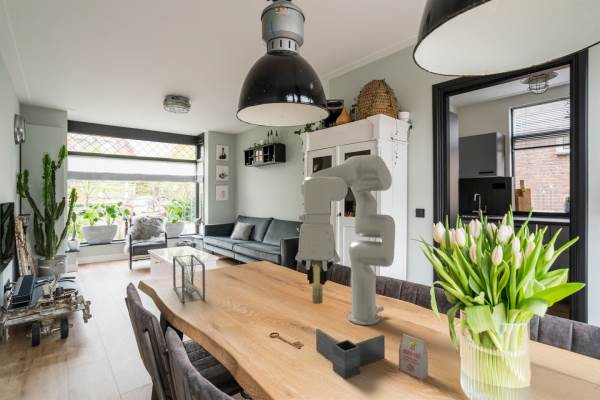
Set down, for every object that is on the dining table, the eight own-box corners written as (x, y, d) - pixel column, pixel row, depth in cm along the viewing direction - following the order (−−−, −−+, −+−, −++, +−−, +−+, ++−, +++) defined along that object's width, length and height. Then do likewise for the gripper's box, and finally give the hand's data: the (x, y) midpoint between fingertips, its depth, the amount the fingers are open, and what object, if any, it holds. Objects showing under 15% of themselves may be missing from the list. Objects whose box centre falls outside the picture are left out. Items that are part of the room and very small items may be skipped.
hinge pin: (319, 298, 94) (319, 252, 94) (327, 302, 90) (326, 254, 90) (308, 301, 92) (307, 253, 92) (315, 305, 88) (314, 255, 88)
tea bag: (405, 365, 93) (405, 331, 93) (427, 375, 88) (427, 339, 88) (398, 370, 90) (398, 335, 90) (421, 380, 85) (421, 343, 85)
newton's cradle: (205, 300, 151) (205, 263, 150) (182, 304, 145) (181, 266, 145) (193, 285, 177) (192, 253, 176) (173, 287, 172) (172, 255, 171)
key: (308, 347, 106) (279, 332, 117) (308, 344, 106) (280, 329, 117) (295, 351, 102) (267, 335, 113) (295, 348, 102) (267, 333, 113)
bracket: (352, 339, 110) (352, 317, 109) (390, 361, 95) (390, 337, 94) (310, 352, 101) (310, 328, 101) (344, 379, 86) (344, 352, 86)
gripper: (285, 220, 89) (286, 285, 90) (343, 221, 85) (344, 289, 85) (293, 218, 96) (294, 278, 97) (347, 219, 92) (347, 281, 92)
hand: (317, 282), depth 91 cm, fingers closed on hinge pin, 3 cm apart
